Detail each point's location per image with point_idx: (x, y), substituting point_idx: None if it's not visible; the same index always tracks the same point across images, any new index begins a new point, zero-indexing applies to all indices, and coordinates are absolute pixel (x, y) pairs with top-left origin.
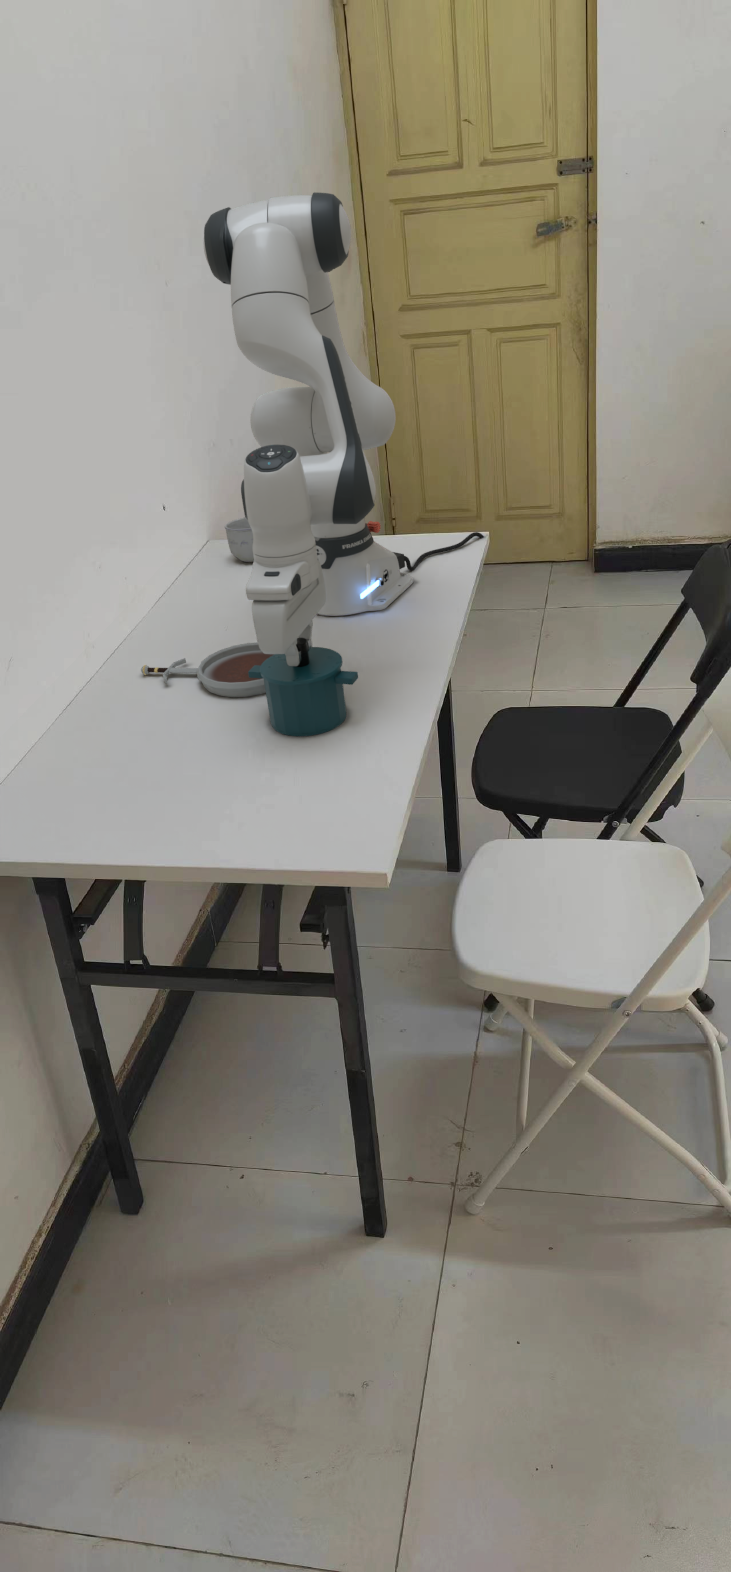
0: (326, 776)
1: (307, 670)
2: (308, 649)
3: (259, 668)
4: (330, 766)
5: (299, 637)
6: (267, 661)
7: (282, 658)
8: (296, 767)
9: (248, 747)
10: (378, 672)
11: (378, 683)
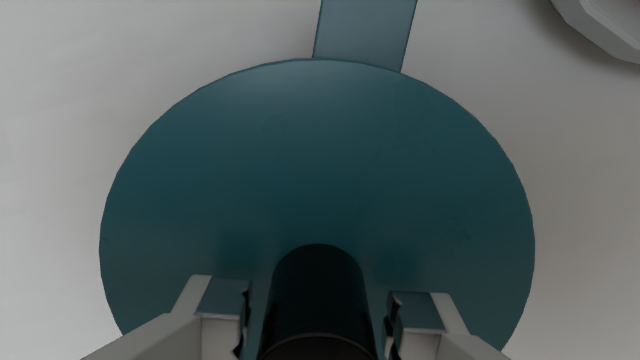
0: (6, 290)
1: None
2: (383, 348)
3: (370, 20)
4: (56, 289)
5: (447, 345)
6: (358, 88)
7: (394, 170)
8: (30, 209)
9: (114, 28)
10: (604, 308)
11: (529, 319)
